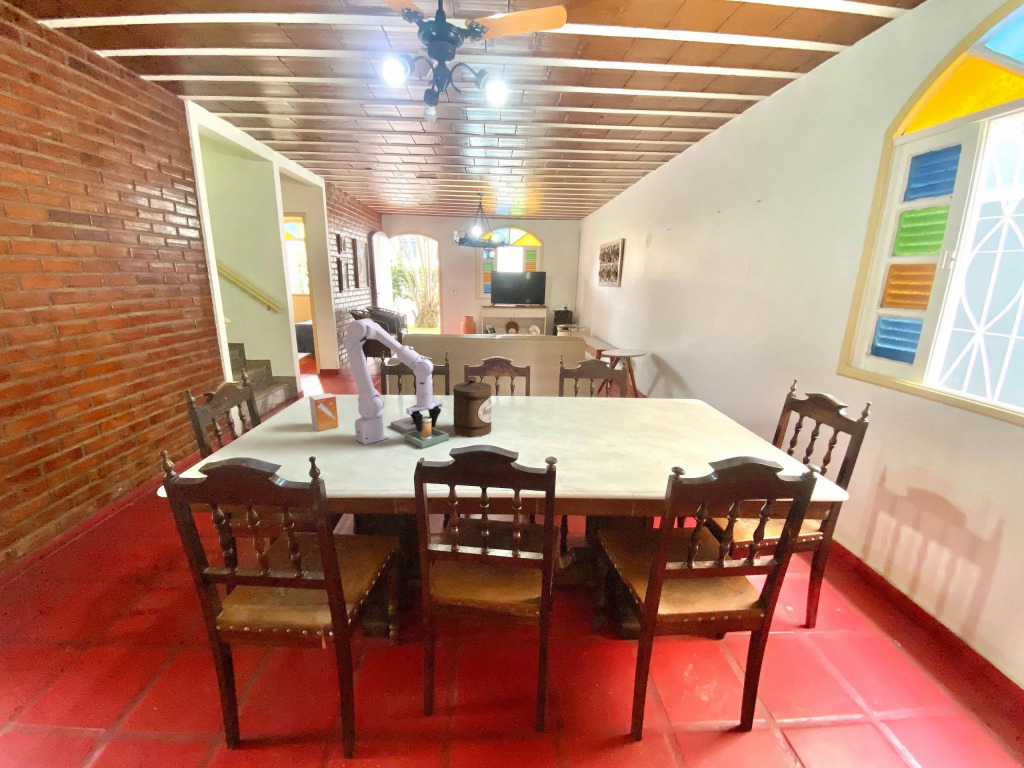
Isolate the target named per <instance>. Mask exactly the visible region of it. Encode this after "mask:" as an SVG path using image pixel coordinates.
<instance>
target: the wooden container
mask: <svg viewBox="0 0 1024 768" xmlns="http://www.w3.org/2000/svg"><path fill="white" fill-rule="evenodd" d="M453 432H454V434H455V435H457V436H460V437H464V438H478V437H483V436H486V435H488V434H490V433H491V432H492V385H491V384H489V383H486V382H481V381H479V382H478V381H477V377H476V376H474V375H472V376H469V377H468V378H467V381H465V382H460V383H456V384H454V386H453Z"/></svg>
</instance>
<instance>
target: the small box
mask: <svg viewBox="0 0 1024 768" xmlns="http://www.w3.org/2000/svg"><path fill="white" fill-rule="evenodd" d="M308 397H309V407H310V408H309V409H310V416H311V417H310V418H311V426H312V428H313V429H314V430H316V431H317V432H319V433H320V432H322V431H323V432H324V431H326V430H331V429H336V428H339V418H338V406H337V397H336V395H335V394H333V393H331V392H329V393H322V394H317V395H312V396H311V395H310V396H308Z"/></svg>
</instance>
